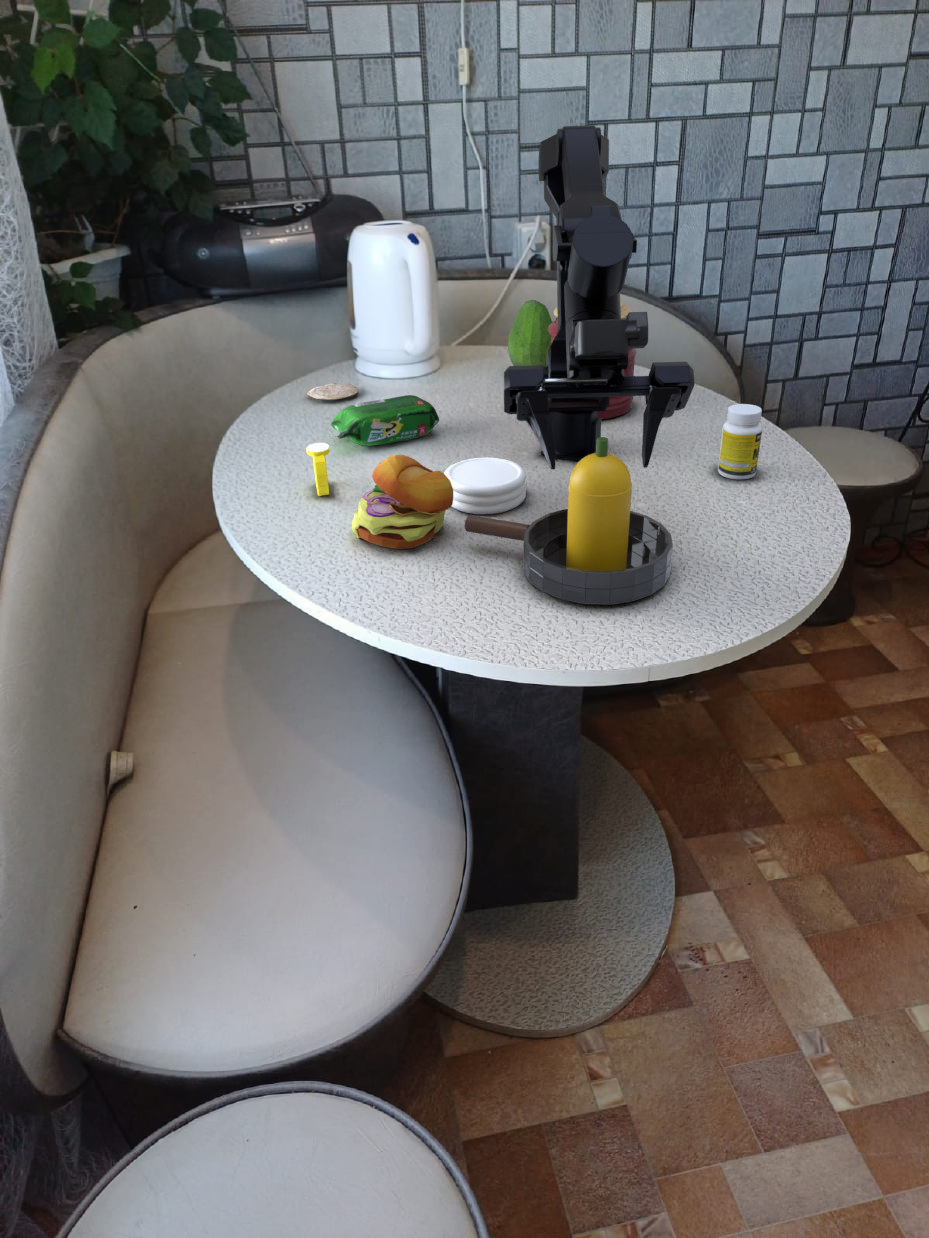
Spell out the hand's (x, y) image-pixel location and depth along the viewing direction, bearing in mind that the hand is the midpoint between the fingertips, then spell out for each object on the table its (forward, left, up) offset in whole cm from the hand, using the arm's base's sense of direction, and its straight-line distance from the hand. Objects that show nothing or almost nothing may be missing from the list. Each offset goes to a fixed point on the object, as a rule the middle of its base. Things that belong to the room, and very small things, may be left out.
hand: (599, 467), depth 93 cm
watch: (-38, +7, -11) cm, 40 cm away
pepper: (0, -1, -11) cm, 11 cm away
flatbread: (-56, +40, -11) cm, 69 cm away
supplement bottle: (+9, +30, -11) cm, 33 cm away
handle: (-11, -1, -9) cm, 14 cm away
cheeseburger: (-23, 0, -11) cm, 25 cm away
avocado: (-30, +61, -11) cm, 68 cm away
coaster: (-18, +12, -11) cm, 24 cm away
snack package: (-38, +26, -11) cm, 48 cm away
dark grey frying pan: (0, -1, -11) cm, 11 cm away
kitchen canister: (-16, +48, -11) cm, 52 cm away
